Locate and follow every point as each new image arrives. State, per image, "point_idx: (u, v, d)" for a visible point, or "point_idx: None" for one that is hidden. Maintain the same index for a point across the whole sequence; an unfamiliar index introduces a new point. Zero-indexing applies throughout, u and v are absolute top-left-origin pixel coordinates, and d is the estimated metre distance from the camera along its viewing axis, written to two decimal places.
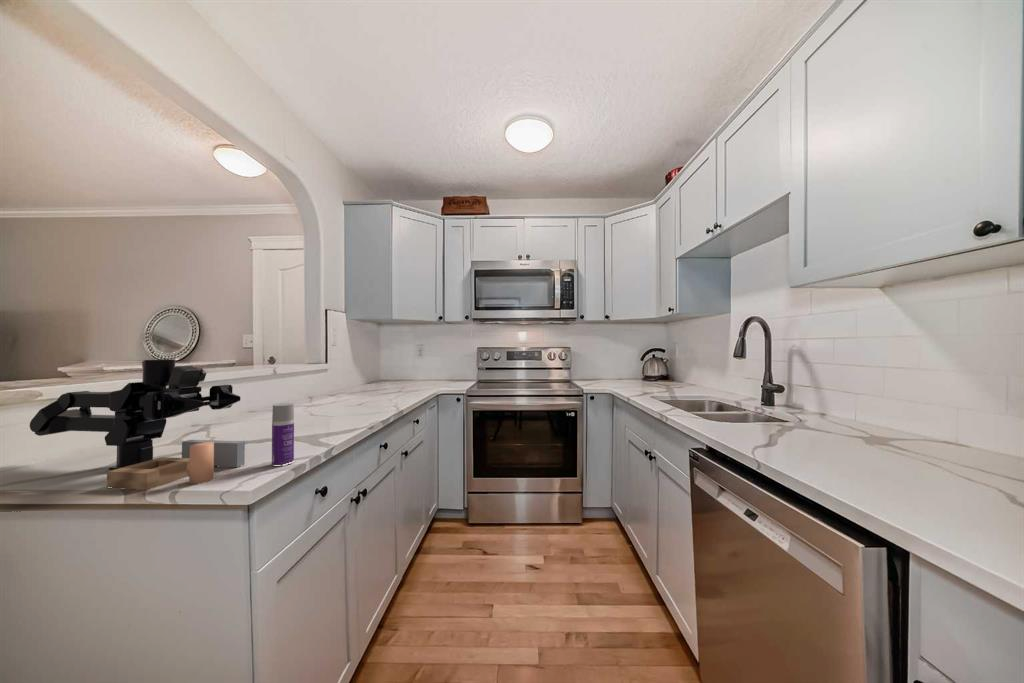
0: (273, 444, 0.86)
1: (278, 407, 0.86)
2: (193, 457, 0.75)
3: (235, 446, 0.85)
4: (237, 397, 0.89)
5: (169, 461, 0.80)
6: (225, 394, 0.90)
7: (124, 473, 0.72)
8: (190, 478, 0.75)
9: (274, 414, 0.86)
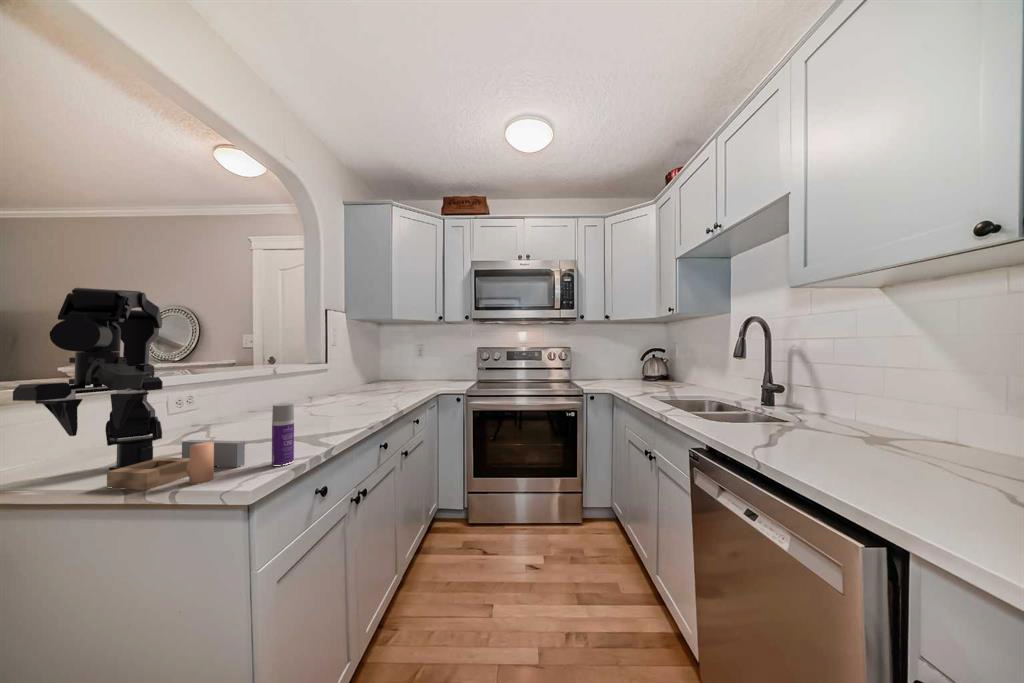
0: (273, 444, 0.86)
1: (278, 407, 0.86)
2: (193, 457, 0.75)
3: (235, 446, 0.85)
4: (118, 425, 0.71)
5: (169, 461, 0.80)
6: (123, 405, 0.71)
7: (124, 473, 0.72)
8: (190, 478, 0.75)
9: (274, 414, 0.86)
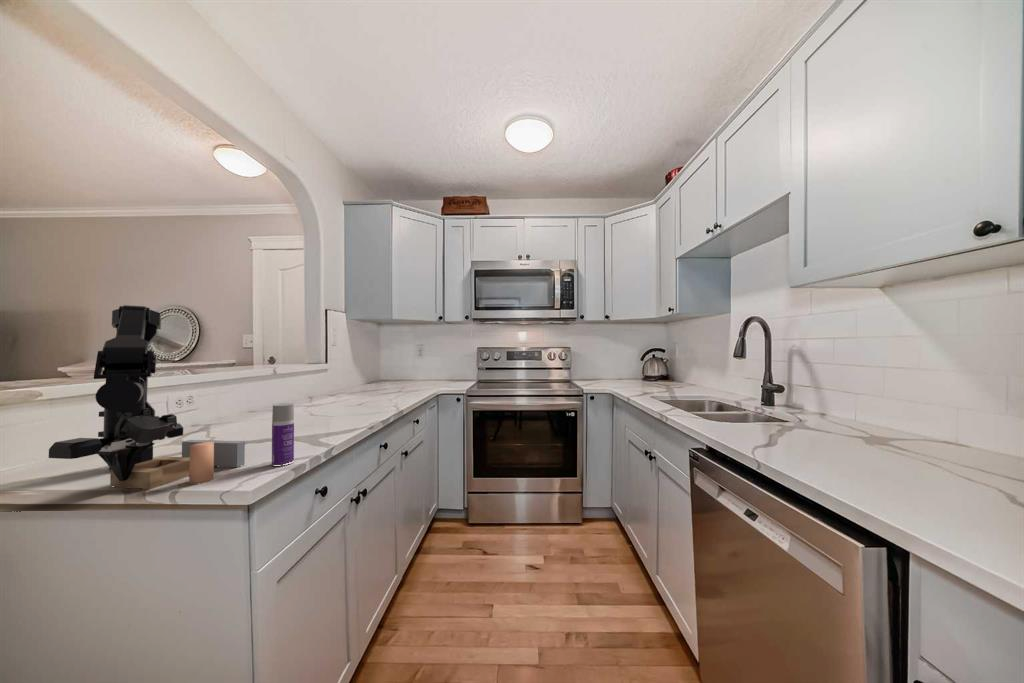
0: (273, 444, 0.86)
1: (278, 407, 0.86)
2: (193, 457, 0.75)
3: (235, 446, 0.85)
4: (124, 478, 0.71)
5: (172, 460, 0.80)
6: (129, 458, 0.72)
7: None
8: (190, 478, 0.75)
9: (274, 414, 0.86)
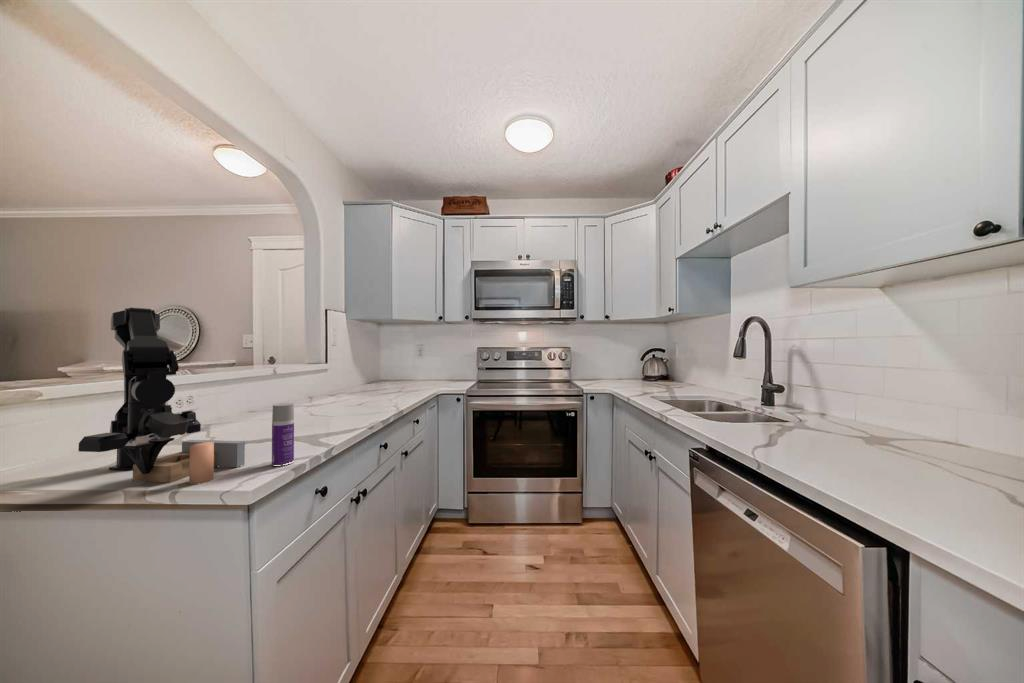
0: (273, 444, 0.86)
1: (278, 407, 0.86)
2: (193, 457, 0.75)
3: (235, 446, 0.85)
4: (146, 471, 0.75)
5: None
6: (152, 452, 0.76)
7: None
8: (190, 478, 0.75)
9: (274, 414, 0.86)
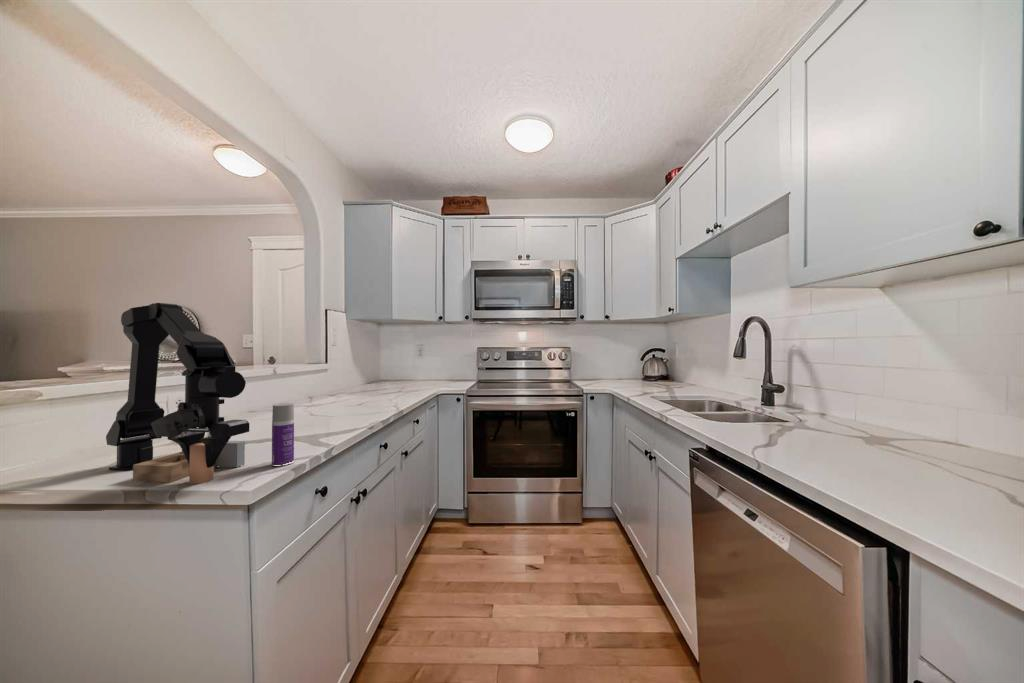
0: (273, 444, 0.86)
1: (278, 407, 0.86)
2: (193, 457, 0.75)
3: (235, 446, 0.85)
4: None
5: None
6: None
7: (149, 466, 0.77)
8: (190, 478, 0.75)
9: (274, 414, 0.86)
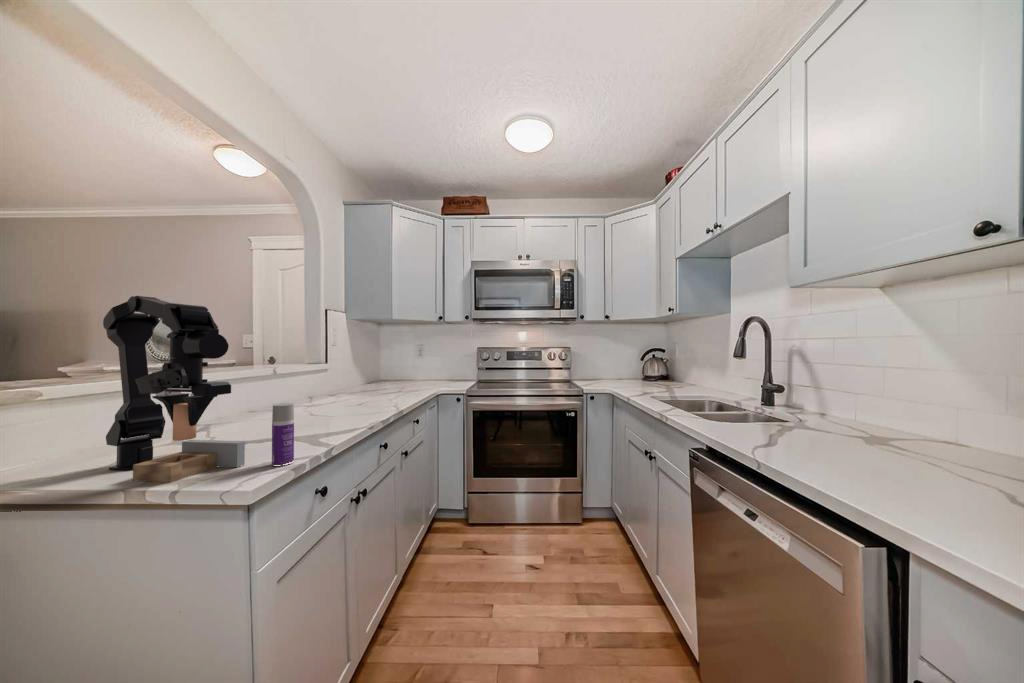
0: (273, 444, 0.86)
1: (278, 407, 0.86)
2: (176, 415, 0.78)
3: (235, 446, 0.85)
4: None
5: (190, 455, 0.84)
6: None
7: (149, 466, 0.77)
8: (173, 435, 0.78)
9: (274, 414, 0.86)
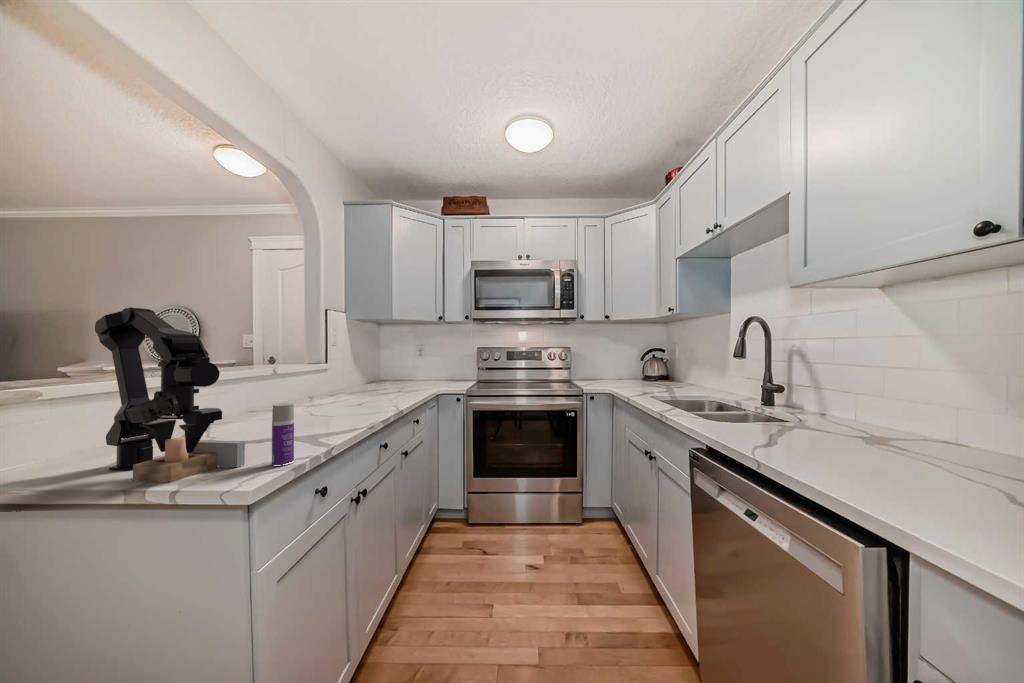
0: (273, 444, 0.86)
1: (278, 407, 0.86)
2: (168, 451, 0.80)
3: (235, 446, 0.85)
4: None
5: (190, 455, 0.84)
6: None
7: (149, 466, 0.77)
8: None
9: (274, 414, 0.86)
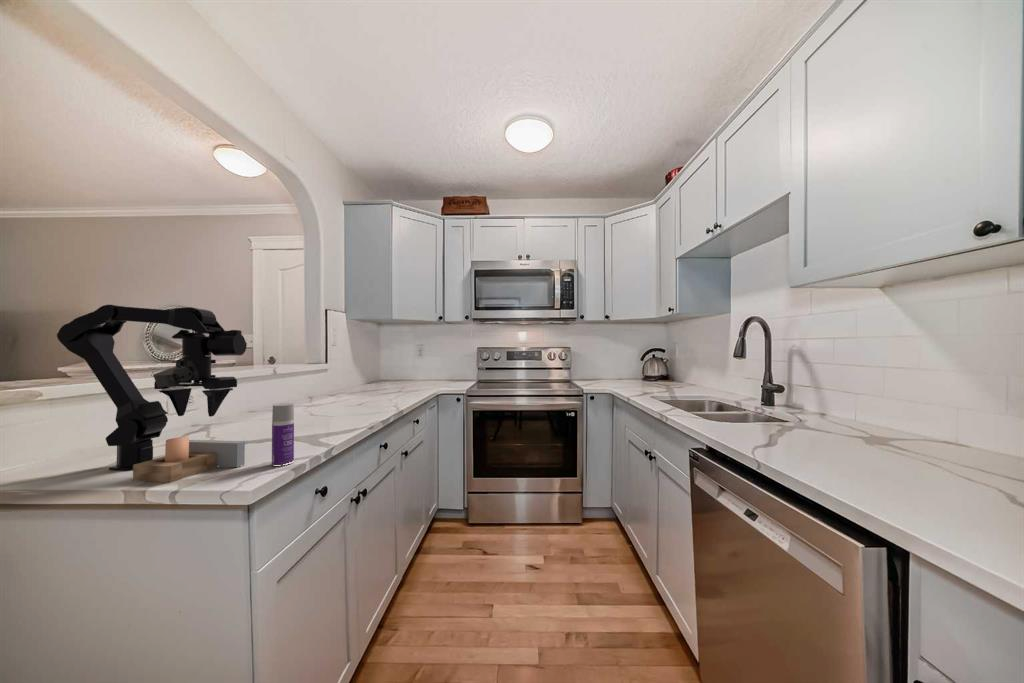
0: (273, 444, 0.86)
1: (278, 407, 0.86)
2: (168, 450, 0.80)
3: (235, 446, 0.85)
4: None
5: (190, 455, 0.84)
6: None
7: (149, 466, 0.77)
8: None
9: (274, 414, 0.86)
